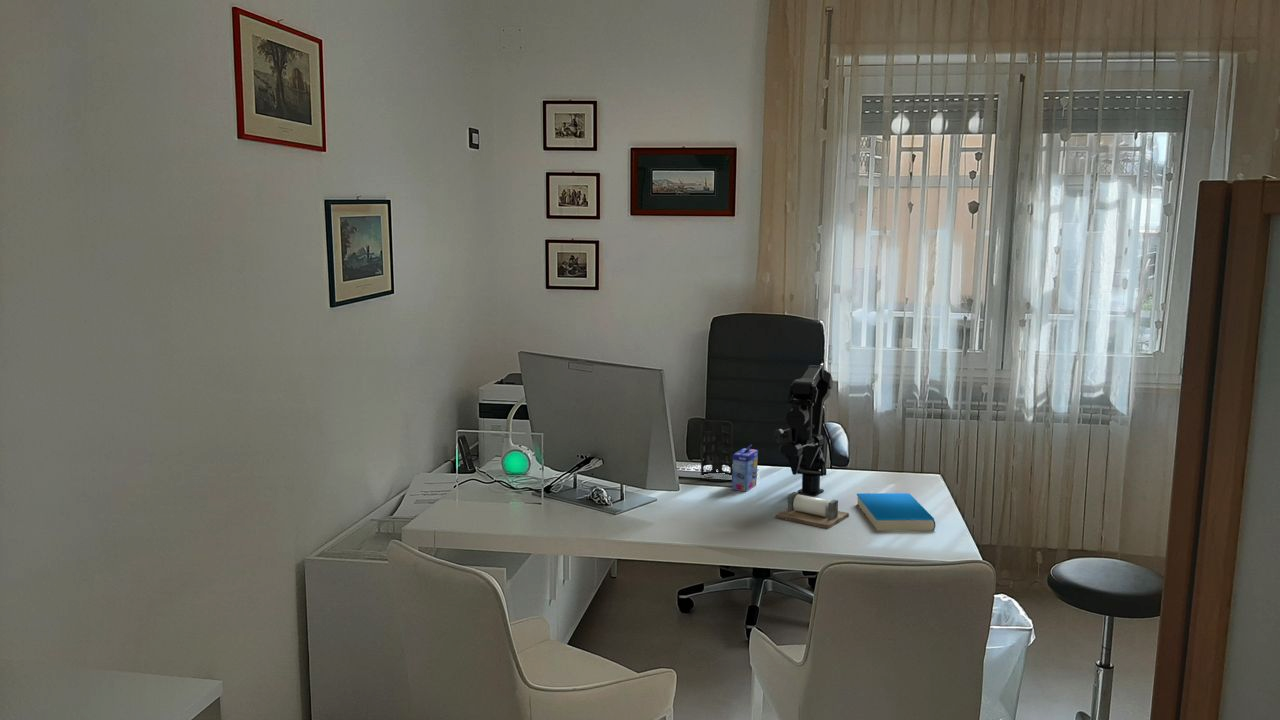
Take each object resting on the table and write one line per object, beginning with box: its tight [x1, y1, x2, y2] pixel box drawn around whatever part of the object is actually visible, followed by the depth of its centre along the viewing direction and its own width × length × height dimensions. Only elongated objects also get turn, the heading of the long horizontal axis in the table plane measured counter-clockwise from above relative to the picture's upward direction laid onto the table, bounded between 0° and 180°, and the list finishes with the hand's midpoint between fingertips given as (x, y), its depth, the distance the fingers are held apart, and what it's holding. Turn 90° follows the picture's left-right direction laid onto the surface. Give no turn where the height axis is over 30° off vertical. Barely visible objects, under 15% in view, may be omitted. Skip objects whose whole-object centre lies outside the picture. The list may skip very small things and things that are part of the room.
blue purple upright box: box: [731, 444, 759, 493], centre depth 311 cm, size 10×6×14 cm, turn 152°
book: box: [856, 492, 936, 531], centre depth 281 cm, size 17×4×25 cm
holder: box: [699, 420, 733, 483], centre depth 321 cm, size 11×8×20 cm
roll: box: [793, 494, 832, 517], centre depth 281 cm, size 5×10×5 cm, turn 53°
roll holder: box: [775, 491, 850, 530], centre depth 281 cm, size 14×17×6 cm
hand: (801, 471), depth 291 cm, fingers open, 9 cm apart
